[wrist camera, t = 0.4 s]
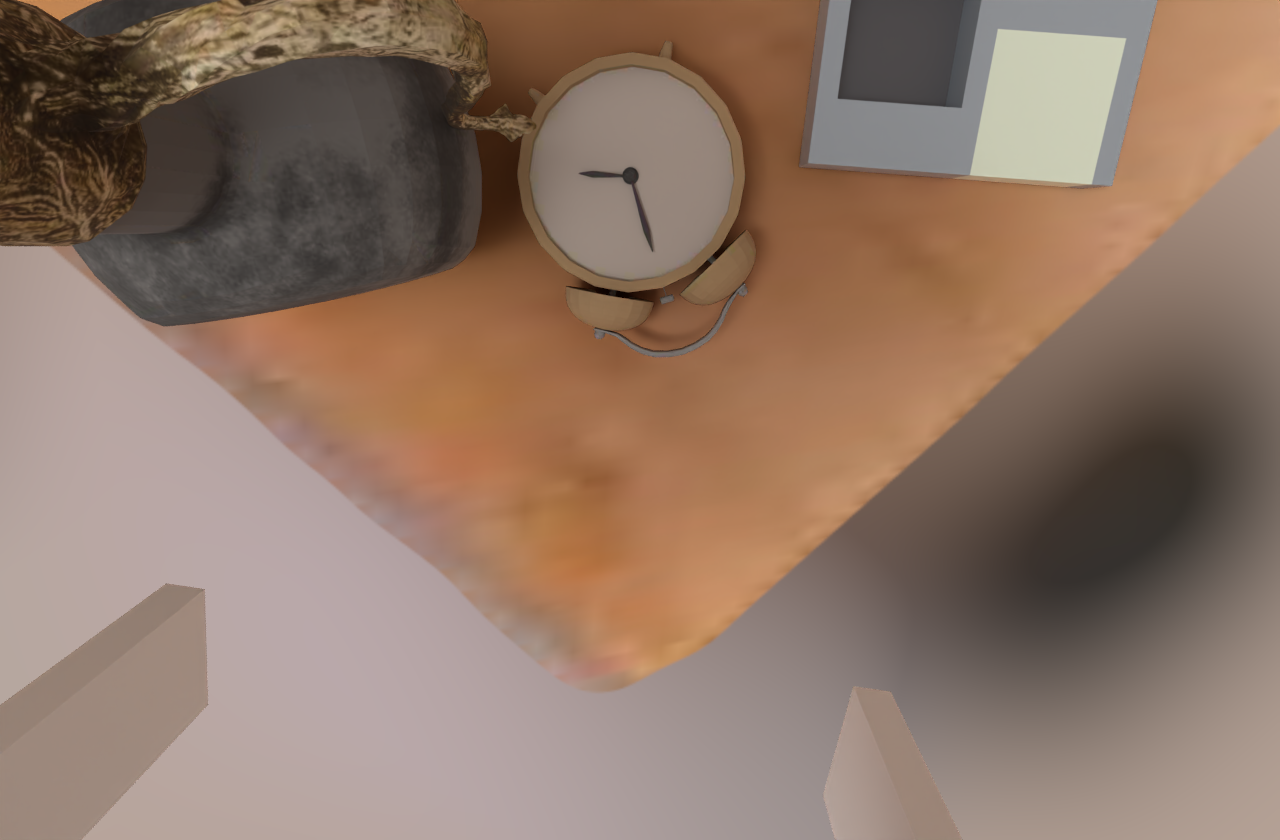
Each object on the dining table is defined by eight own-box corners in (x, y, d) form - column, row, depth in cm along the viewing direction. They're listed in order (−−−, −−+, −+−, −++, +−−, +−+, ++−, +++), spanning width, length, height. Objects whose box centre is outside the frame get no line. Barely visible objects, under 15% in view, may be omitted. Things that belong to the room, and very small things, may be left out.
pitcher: (204, 108, 37) (-1468, -320, 8) (552, 25, 35) (57, -888, 6) (272, 311, 40) (-775, 540, 11) (598, 242, 38) (400, 296, 9)
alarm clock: (707, 12, 32) (793, 321, 34) (706, 56, 37) (781, 325, 38) (484, 90, 34) (574, 386, 35) (511, 123, 39) (589, 382, 40)
